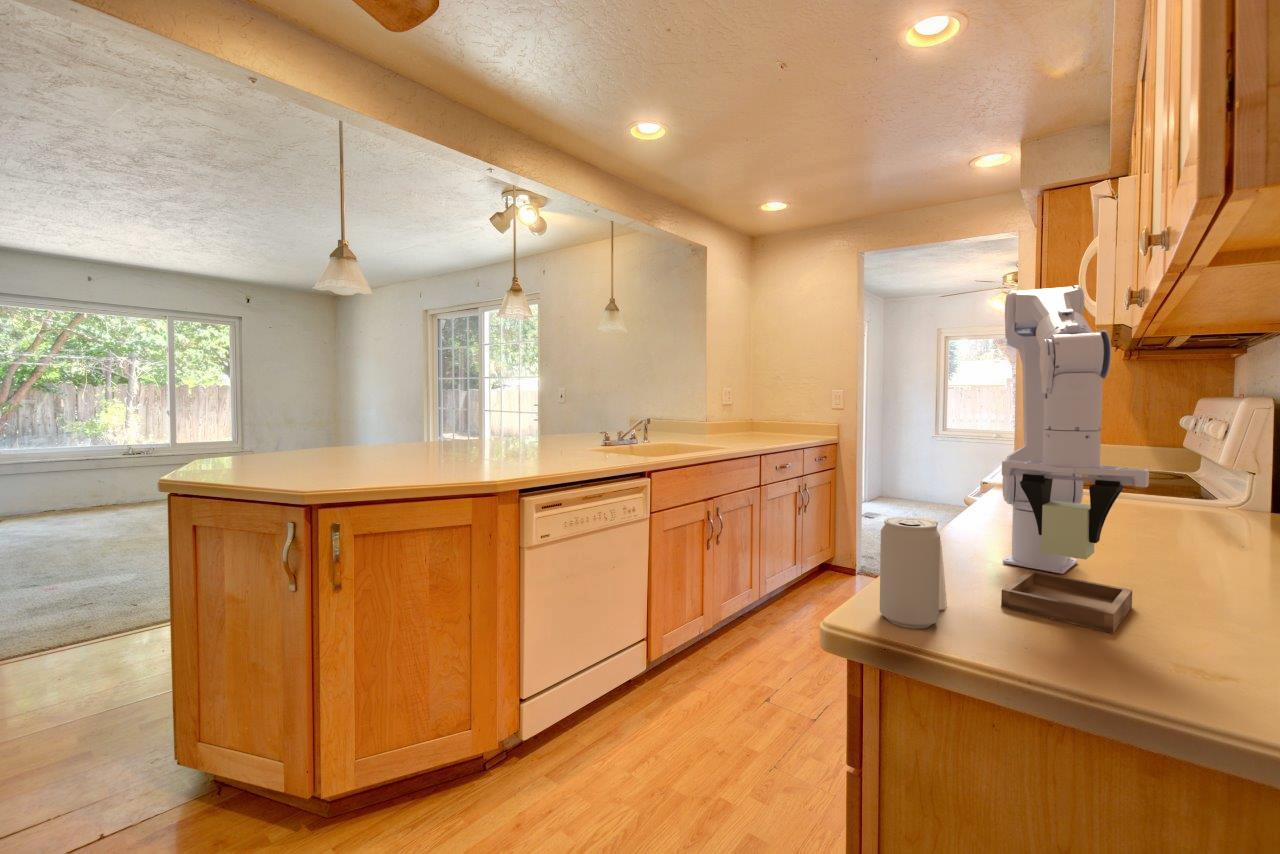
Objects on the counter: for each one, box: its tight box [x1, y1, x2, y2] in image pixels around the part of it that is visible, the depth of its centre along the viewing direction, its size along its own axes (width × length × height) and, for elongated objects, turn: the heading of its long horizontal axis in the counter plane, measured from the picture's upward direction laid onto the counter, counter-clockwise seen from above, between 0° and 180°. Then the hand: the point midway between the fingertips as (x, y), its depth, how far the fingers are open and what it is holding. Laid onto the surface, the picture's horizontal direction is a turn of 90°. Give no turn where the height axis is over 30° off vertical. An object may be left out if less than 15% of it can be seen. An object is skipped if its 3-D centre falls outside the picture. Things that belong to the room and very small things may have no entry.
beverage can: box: [879, 516, 941, 630], centre depth 67 cm, size 6×6×12 cm
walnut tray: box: [1000, 570, 1133, 634], centre depth 71 cm, size 12×11×2 cm
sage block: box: [1041, 501, 1095, 560], centre depth 71 cm, size 4×4×6 cm
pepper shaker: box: [917, 517, 948, 611], centre depth 72 cm, size 5×5×11 cm
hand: (1068, 537), depth 71 cm, fingers closed on sage block, 4 cm apart
